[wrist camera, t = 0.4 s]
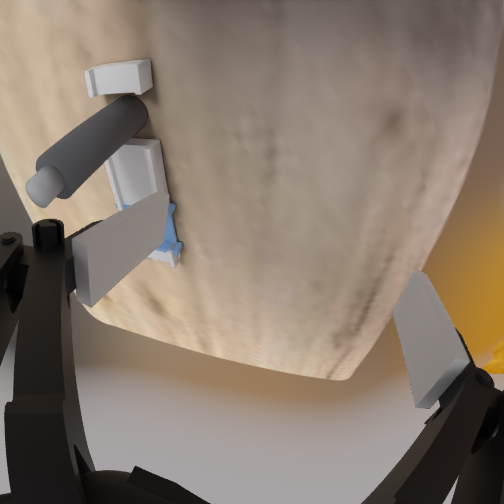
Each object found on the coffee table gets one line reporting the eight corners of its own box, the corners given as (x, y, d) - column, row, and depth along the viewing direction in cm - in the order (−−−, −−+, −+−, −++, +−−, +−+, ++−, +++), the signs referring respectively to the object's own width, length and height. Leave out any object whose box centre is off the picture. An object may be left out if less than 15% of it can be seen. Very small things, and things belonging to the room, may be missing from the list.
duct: (93, 66, 22) (79, 72, 21) (156, 58, 21) (143, 63, 20) (138, 246, 40) (131, 257, 39) (185, 257, 39) (179, 268, 38)
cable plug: (110, 96, 24) (12, 170, 16) (144, 94, 24) (43, 172, 15) (117, 131, 27) (31, 212, 19) (149, 132, 27) (63, 219, 18)
